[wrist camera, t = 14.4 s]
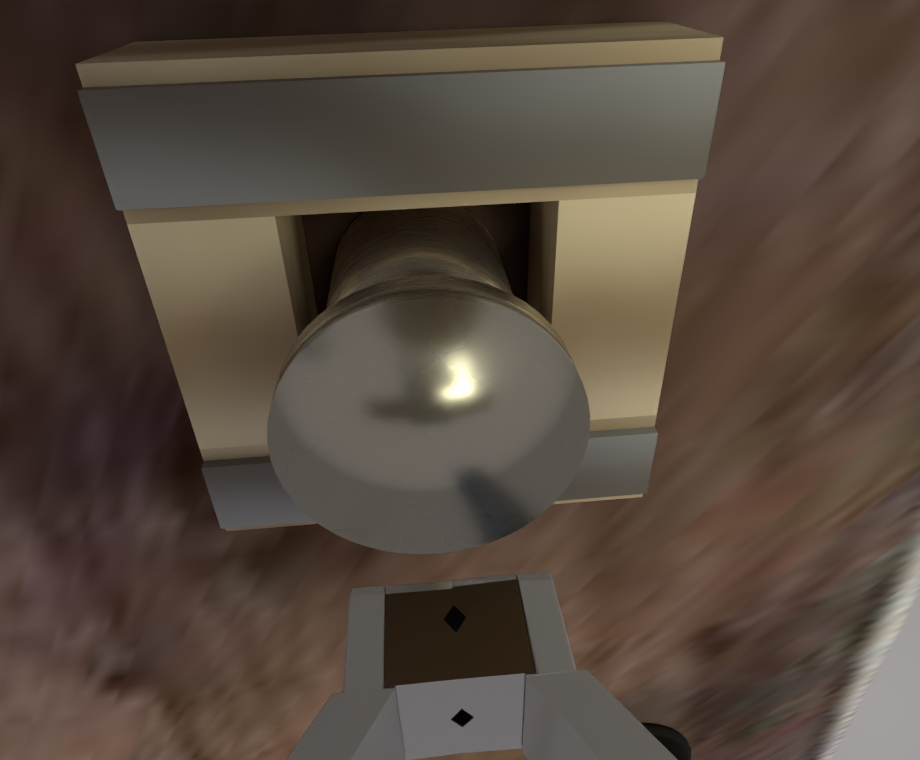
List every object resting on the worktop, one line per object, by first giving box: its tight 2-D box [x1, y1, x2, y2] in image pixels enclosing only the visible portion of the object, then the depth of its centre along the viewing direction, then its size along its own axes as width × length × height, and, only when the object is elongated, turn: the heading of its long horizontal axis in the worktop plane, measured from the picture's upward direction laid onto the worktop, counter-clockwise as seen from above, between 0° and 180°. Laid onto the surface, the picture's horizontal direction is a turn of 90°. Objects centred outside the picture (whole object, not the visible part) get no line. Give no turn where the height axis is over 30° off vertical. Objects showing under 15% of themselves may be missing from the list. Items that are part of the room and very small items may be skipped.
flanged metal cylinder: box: [267, 206, 590, 554], centre depth 16 cm, size 6×6×8 cm
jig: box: [75, 21, 726, 531], centre depth 18 cm, size 13×13×4 cm
